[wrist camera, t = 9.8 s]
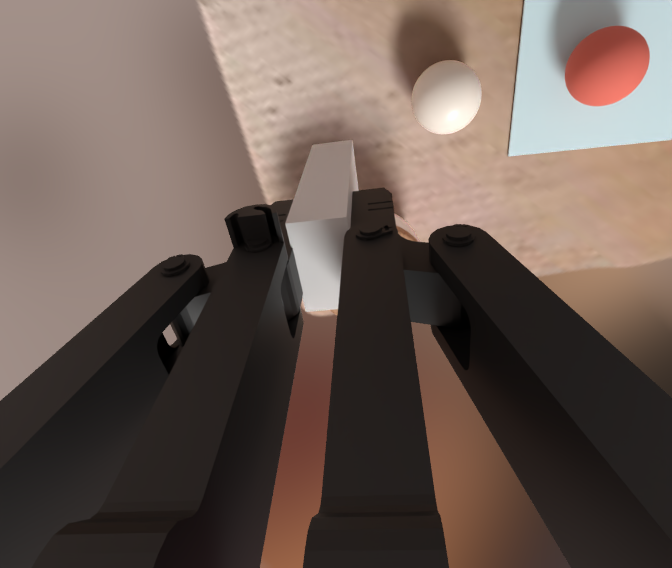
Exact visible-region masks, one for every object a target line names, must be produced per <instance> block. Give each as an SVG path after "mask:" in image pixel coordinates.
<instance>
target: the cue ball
mask: <svg viewBox="0 0 672 568" xmlns="http://www.w3.org/2000/svg"><path fill="white" fill-rule="evenodd" d="M481 97H482V91H481V84H480V81H479V78H478V76H477V75H476V73H475V72H474V71H473V70H472V69H471V68H470V67H469V66H468V65H466V64H464V63H462V62H460V61H456V60H444V61H440V62H437V63H435V64H433V65H431V66H430V67H428V68H427V69H426V70H425V71H424V72H423V73H422V74H421V75H420V76H419V78H418V79H417V81H416V83H415V85H414V88H413V92H412V98H411V104H412V110H413V114H414V116H415V118H416V120H417V121H418V123H419V124H420V125H421V126H422V127H423V128H425V129H426V130H428V131H430V132H432V133H435V134H450V133H454V132H457V131H459V130H461V129H462V128H464V127H465V126H466V125H468V124H469V123H470V122H471V120H472V119H473V118H474V117H475V115H476V113H477V111H478V109H479V106H480V103H481Z"/></svg>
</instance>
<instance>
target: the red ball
mask: <svg viewBox="0 0 672 568" xmlns="http://www.w3.org/2000/svg"><path fill="white" fill-rule="evenodd" d="M649 60H650V51H649V47H648V44H647V42H646V40H645V38H644V37H643V36H642V35H641V34H640V33H639V32H638V31H636V30H634V29H632V28H629V27H626V26H609V27H605V28H602V29H599V30H597V31H595V32H593V33H591V34H590V35H588V36H587V37H586V38H584V39H583V40H582V41H581V42H580V43H579V44H578V45H577V46H576V47H575V49H574V50H573V52H572V53H571V55H570V57H569V59H568V61H567V64H566V68H565V83H566V87H567V89H568V91H569V93H570V94H571V96H572V97H573V98H574V99H576V100H577V101H579V102H580V103H582V104H585V105H588V106H605V105H610V104H613V103H615V102H617V101H620V100H621V99H623V98H625V97H626V96H628V95H629V94H630V93H632V92H633V91H634V90H635V89H636V87H637V86H638V85H639V84H640V83H641V81H642V80H643V78H644V76H645V74H646V72H647V69H648V66H649Z"/></svg>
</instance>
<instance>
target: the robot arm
mask: <svg viewBox="0 0 672 568" xmlns="http://www.w3.org/2000/svg"><path fill="white" fill-rule="evenodd" d="M225 222H226V225H227V228H228V231H229V235H230V238H231V240H232V244H233V247H234V249H233V250H232V253H231V254H230V256H229V258H228V260H227V262H225V263H222V264H219V265H215V266H211V267H207V268H205V266H204V263H203V261H202V259H201V258H200V257H199V256H196V255H191V254H189V255H177V256H176V257H175V256H173V257H170V258H168V259H167V260H165V261H163V262H161V263H159V264H158V265H157V266H155V267H154V268H152V269H151V270H150V271H149V272H148V273H147V274H146V275H144V276H143V277H142V278H141V279H140V280H139V281H138V282H136V283H135V284H134V285H133V286H132V287H131V288H129V289H128V290H127V291H126V292H125V293H124V294H123V295H121V296H120V297H119V298H118V299H117V300H116V301H115V302H113V303H112V304H111V305H110V306H109V307H108V308H107V309H105V310H104V311H103V312H102V313H101V314H100V315H99V316H97V317H96V318H95V319H94V320H93V321H92V322H90V323H89V324H88V325H87V326H86V327H85V328H84V329H82V330H81V331H80V332H79V333H78V334H77V335H76V336H74V337H73V338H72V339H71V340H70V341H69V342H67V343H66V344H65V345H64V346H63V347H62V348H61V349H59V350H58V351H57V352H56V353H55V354H54V355H53V356H52V357H50V358H49V359H48V360H47V361H46V362H45V363H43V364H42V365H41V366H40V367H39V368H38V369H36V370H35V371H34V372H33V373H32V374H31V375H30V376H29V377H27V378H26V379H25V380H24V381H23V382H22V383H21V384H19V385H18V386H17V387H16V388H15V389H14V390H12V391H11V392H10V393H9V394H8V395H7V396H5V397H4V398H3V399H2V400H1V401H0V568H260V563H261V556H262V551H263V546H264V540H265V535H266V529H267V524H268V518H269V513H270V507H271V501H272V496H273V490H274V485H275V479H276V473H277V468H278V463H279V457H280V451H281V446H282V440H283V435H284V429H285V424H286V418H287V412H288V407H289V401H290V396H291V390H292V385H293V379H294V373H295V368H296V362H297V357H298V351H299V346H300V340H301V334H302V329H303V317H302V313H301V308H300V306H301V301H302V298H303V302H304V306H305V310H306V312H309V311H322V310H334V309H338V314H337V326H336V337H335V349H334V360H333V373H332V383H331V396H330V406H329V418H328V429H327V441H326V452H325V465H324V475H323V487H322V498H321V505H320V510H319V513H318V514H317V515H315V516H314V517H312V520H311V522H310V526H309V529H308V534H307V540H306V546H305V554H304V563H303V568H449V565H448V558H447V553H446V552H447V551H446V545H445V539H444V532H443V527H442V522H441V517H440V514H439V513H438V510H437V505H436V499H435V492H434V485H433V478H432V471H431V463H430V456H429V449H428V442H427V435H426V427H425V420H424V413H423V406H422V399H421V392H420V384H419V377H418V370H417V363H416V356H415V349H414V342H413V334H412V327H411V322H416V323H423V324H430V325H431V329H432V333H433V335H434V337H435V338H436V340H437V342H438V344H439V345H440V347H441V349H442V350H443V352H444V354H445V355H446V357H447V359H448V360H449V362H450V364H451V366H452V367H453V369H454V371H455V372H456V374H457V376H458V377H459V379H460V380H461V382H462V384H463V386H464V388H465V389H466V391H467V393H468V394H469V396H470V398H471V399H472V401H473V403H474V404H475V406H476V408H477V410H478V411H479V413H480V414H481V416H482V418H483V420H484V421H485V423H486V425H487V426H488V428H489V430H490V432H491V433H492V435H493V436H494V438H495V440H496V442H497V443H498V445H499V447H500V448H501V450H502V452H503V453H504V455H505V457H506V459H507V460H508V462H509V464H510V465H511V467H512V469H513V470H514V472H515V474H516V475H517V477H518V479H519V480H520V482H521V484H522V486H523V487H524V489H525V491H526V492H527V494H528V495H529V497H530V499H531V500H532V503H533V504H534V506H535V507H536V509H537V511H538V513H539V514H540V516H541V518H542V519H543V521H544V523H545V524H546V526H547V528H548V530H549V531H550V533H551V535H552V536H553V538H554V540H555V541H556V543H557V545H558V546H559V548H560V550H561V551H562V553H563V555H564V556H565V558H566V560H567V562H568V563H569V565H570V567H571V568H672V398H671V397H670V396H669V395H668V394H667V393H666V392H665V391H663V390H662V389H661V388H660V387H659V386H658V385H657V384H656V383H655V382H653V381H652V380H651V379H650V378H649V377H648V376H647V375H645V374H644V373H643V372H642V371H641V370H640V369H639V368H638V367H636V366H635V365H634V364H633V363H632V362H631V361H630V360H629V359H628V358H627V357H625V356H624V355H623V354H622V353H621V352H620V351H618V349H616V348H615V347H614V346H613V345H612V344H611V343H610V342H609V341H608V340H606V339H605V338H604V337H603V336H602V335H600V333H599V332H597V331H596V330H595V329H594V328H593V327H592V326H591V325H590V324H589V323H587V322H586V321H585V320H584V319H583V318H582V317H580V315H578V314H577V313H576V312H575V311H574V310H573V309H572V308H570V307H569V306H568V305H567V304H566V303H565V302H564V301H563V300H561V298H559V297H558V296H557V295H556V294H555V293H554V292H553V291H551V290H550V289H549V288H548V287H547V286H546V285H545V284H544V283H543V282H542V281H540V280H539V279H538V278H537V277H536V276H535V275H534V274H533V273H531V272H530V271H529V270H528V269H527V268H526V267H525V266H524V265H523V264H521V263H520V262H519V261H518V260H517V259H516V258H515V257H514V256H512V255H511V254H510V253H509V252H508V251H507V250H506V249H505V248H504V247H502V246H501V245H500V244H499V243H498V242H497V241H496V240H495V239H493V238H492V237H491V236H490V235H489V234H488V233H487V232H485V231H483V230H482V229H480V228H477V227H473V226H470V225H465V224H463V225H461V224H455V225H453V226H446V227H443V228H440V229H437V230H436V231H434V232H433V233H432V234H431V235H430V237H429V243H425V242H416V241H411V240H408V239H405V238H403V237H402V236H400V235H399V234H398V230H397V228H396V222H395V215H394V208H393V201H392V194H391V193H390V192H389V191H388V190H386V189H385V188H377V189H369V190H360V191H359V190H358V181H357V173H356V165H355V157H354V148H353V140H345V141H337V142H330V143H322V144H314V145H312V147H311V150H310V153H309V156H308V159H307V162H306V165H305V168H304V171H303V173H302V176H301V179H300V182H299V185H298V188H297V191H296V194H295V197H294V200H285V201H277V202H274V203H273V204H272V205H266V204H263V205H262V204H261V205H252V206H247V207H243V208H241V209H238V210H236V211H234V212H232V213H230V214H229V215H228V216H227V217H226V218H225ZM169 324H170V325H171V327H172V329H173V331H174V333H175V335H176V337H177V340H176V341H175V342H174V343H173V344H172V345H171V346H170V345H168V343H167V341H166V339H165V337H164V335H163V333H162V332H163V331H164V330H165V328H166V327H168V325H169Z"/></svg>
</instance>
